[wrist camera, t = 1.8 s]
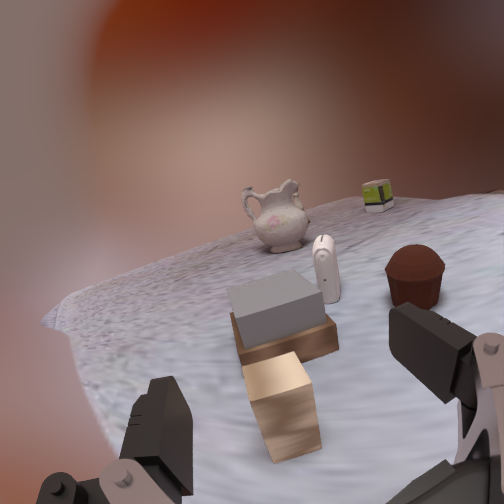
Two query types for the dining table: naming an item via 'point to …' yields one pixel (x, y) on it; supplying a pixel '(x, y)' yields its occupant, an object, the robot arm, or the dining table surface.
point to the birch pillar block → (283, 406)
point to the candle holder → (298, 200)
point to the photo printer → (326, 268)
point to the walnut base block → (291, 344)
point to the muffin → (415, 276)
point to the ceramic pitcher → (278, 217)
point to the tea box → (377, 196)
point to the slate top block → (276, 308)
